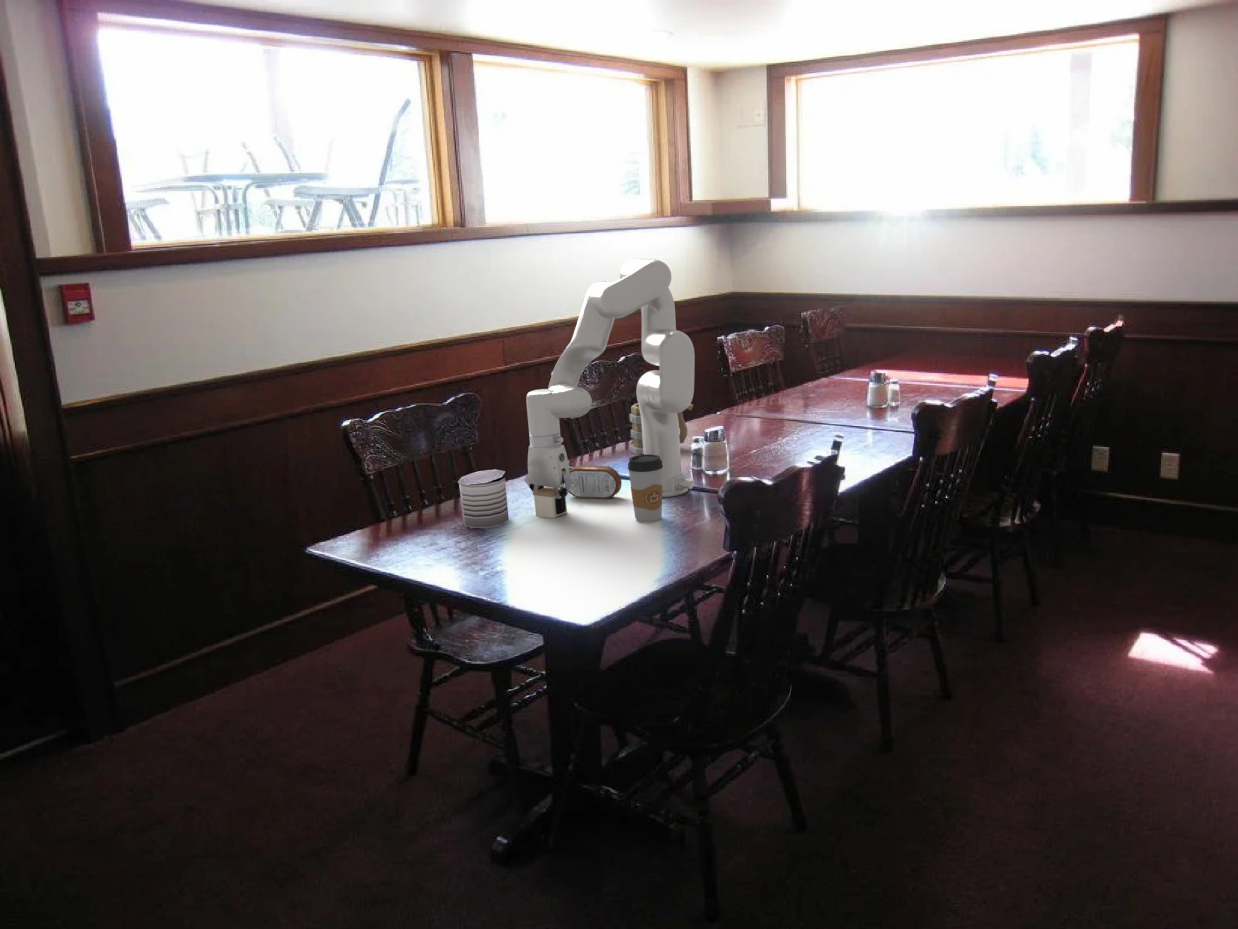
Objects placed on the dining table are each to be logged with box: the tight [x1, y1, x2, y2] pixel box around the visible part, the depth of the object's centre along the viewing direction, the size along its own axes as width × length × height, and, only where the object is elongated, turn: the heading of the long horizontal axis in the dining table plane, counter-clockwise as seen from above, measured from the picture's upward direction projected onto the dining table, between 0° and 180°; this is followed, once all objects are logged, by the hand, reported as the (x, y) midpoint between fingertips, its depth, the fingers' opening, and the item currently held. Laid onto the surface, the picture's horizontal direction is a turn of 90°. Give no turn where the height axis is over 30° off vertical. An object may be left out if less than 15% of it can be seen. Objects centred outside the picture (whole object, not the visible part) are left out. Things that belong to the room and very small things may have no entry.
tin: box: [564, 464, 623, 500], centre depth 275 cm, size 15×3×8 cm, turn 71°
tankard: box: [628, 402, 694, 455], centre depth 321 cm, size 20×13×15 cm, turn 68°
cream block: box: [533, 486, 568, 519], centre depth 264 cm, size 6×6×6 cm
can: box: [457, 468, 510, 529], centre depth 260 cm, size 11×11×12 cm
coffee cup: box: [627, 454, 663, 523], centre depth 253 cm, size 8×8×15 cm
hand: (551, 510), depth 264 cm, fingers closed on cream block, 5 cm apart
